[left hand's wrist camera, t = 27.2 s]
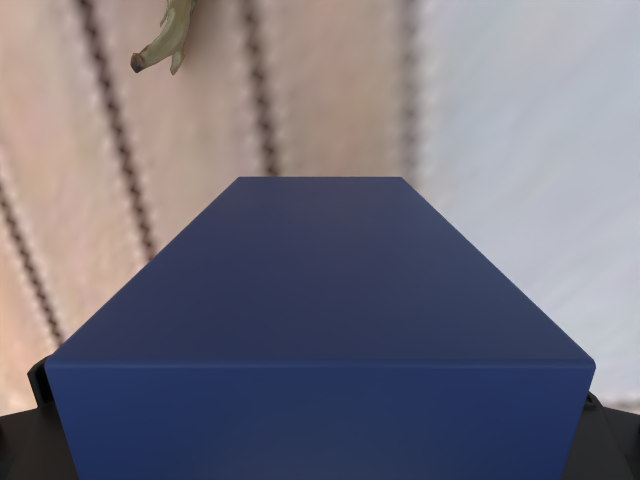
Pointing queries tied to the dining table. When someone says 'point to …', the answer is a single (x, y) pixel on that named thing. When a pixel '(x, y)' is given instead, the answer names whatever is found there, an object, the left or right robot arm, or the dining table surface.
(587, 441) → the left robot arm
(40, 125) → the dining table surface
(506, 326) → the brick
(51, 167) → the dining table surface
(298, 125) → the dining table surface
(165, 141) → the dining table surface
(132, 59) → the jawbone
